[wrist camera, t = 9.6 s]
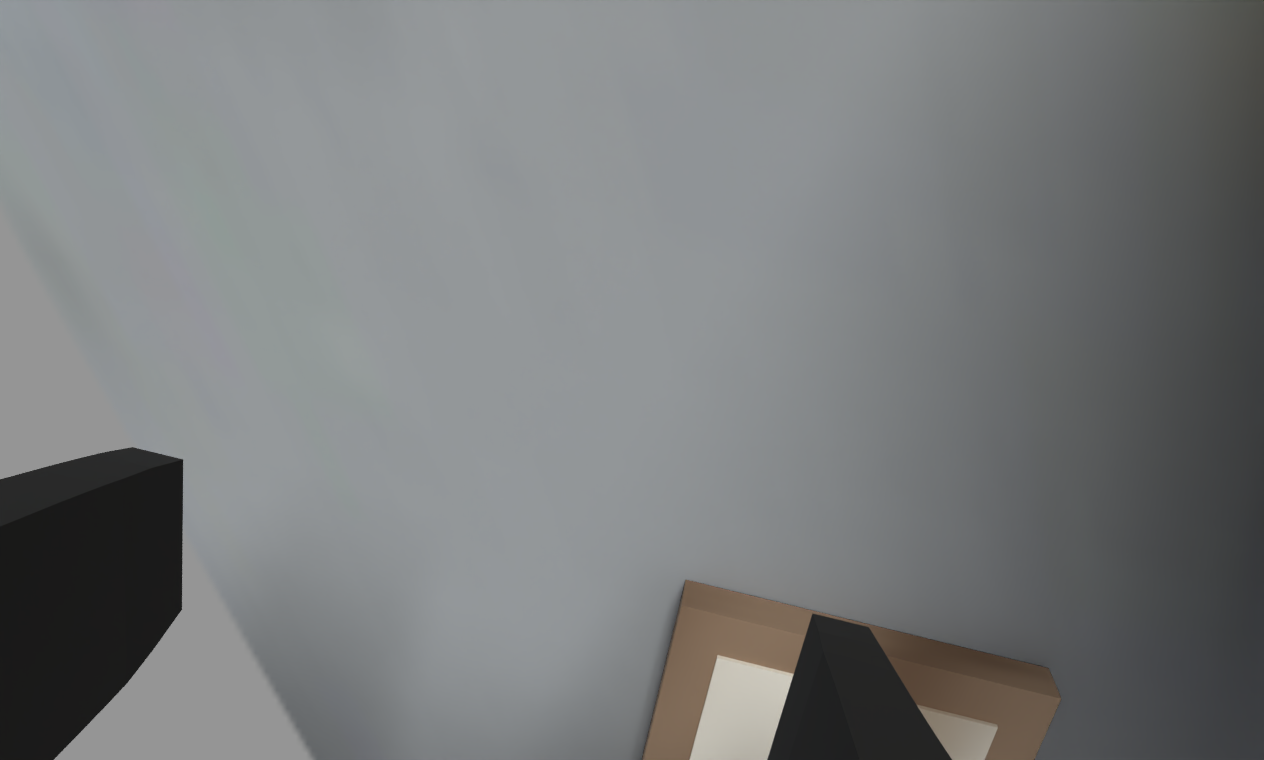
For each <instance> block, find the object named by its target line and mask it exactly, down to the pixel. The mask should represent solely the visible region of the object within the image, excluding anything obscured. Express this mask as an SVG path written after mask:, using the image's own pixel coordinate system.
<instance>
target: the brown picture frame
mask: <svg viewBox="0 0 1264 760" xmlns="http://www.w3.org/2000/svg"><path fill="white" fill-rule="evenodd" d="M812 613H813V614H817V615H821V616H825V617H830V618H834V619H838V620H842V621H846V622H850V623H854V624H858V625H862V626H866V627H869V628H870V630H871V631H872V633H873V635H874V636H875V638H876V639H877V641H878V643H879V644H880V646H881V648H882V649H883V651H884V652H885V654H886V656H887V657H888V659H889V661H890V662H891V664H892V666H893V667H894V669H895V670H896V672H897V674H898V675H899V677H900V679H901V680H902V682H903V684H904V685H905V687H906V688H907V690H908V692H909V693H910V695H911V697H912V698H913V700H914V701H915V703H916V705H917V706H918V708H919V709H920V711H921V713H922V714H923V716H924V717H925V719H926V721H927V722H928V724H929V725H930V727H931V728H932V730H933V732H934V733H935V735H936V736H937V738H938V739H939V741H940V742H941V744H942V745H943V747H944V748H945V750H946V751H947V753H948V754H949V756H950V757H951V759H952V760H1034V759H1035V757H1036V755H1037V752H1038V750H1039V748H1040V746H1041V743H1042V741H1043V739H1044V737H1045V734H1046V732H1047V730H1048V728H1049V726H1050V723H1051V721H1052V719H1053V717H1054V714H1055V712H1056V710H1057V708H1058V705H1059V703H1060V701H1061V697H1060V694H1059V692H1058V690H1057V687H1056V685H1055V682H1054V680H1053V678H1052V675H1051V673H1050V670H1049V668H1046V667H1041V666H1037V665H1033V664H1029V663H1025V662H1021V661H1017V660H1013V659H1009V658H1005V657H1000V656H996V655H992V654H988V653H984V652H980V651H976V650H972V649H968V648H964V647H959V646H955V645H951V644H947V643H943V642H939V641H935V640H931V639H927V638H923V637H918V636H914V635H910V634H906V633H902V632H898V631H894V630H890V629H886V628H882V627H877V626H873V625H869V624H865V623H861V622H857V621H853V620H849V619H845V618H841V617H836V616H832V615H828V614H824V613H820V612H816V611H812V610H808V609H804V608H800V607H795V606H791V605H787V604H783V603H779V602H775V601H771V600H767V599H763V598H759V597H754V596H750V595H746V594H742V593H738V592H734V591H730V590H726V589H722V588H718V587H713V586H709V585H705V584H701V583H697V582H693V581H689V580H686V581H685V585H684V589H683V593H682V597H681V601H680V605H679V610H678V614H677V618H676V622H675V626H674V630H673V634H672V638H671V642H670V646H669V650H668V654H667V659H666V663H665V667H664V671H663V675H662V679H661V683H660V687H659V691H658V695H657V699H656V703H655V708H654V712H653V716H652V720H651V724H650V728H649V732H648V736H647V740H646V744H645V748H644V752H643V757H642V760H767V759H768V756H769V752H770V749H771V746H772V743H773V739H774V736H775V733H776V730H777V727H778V723H779V720H780V717H781V714H782V710H783V707H784V704H785V701H786V697H787V694H788V691H789V688H790V684H791V681H792V678H793V675H794V672H795V668H796V665H797V662H798V659H799V655H800V652H801V649H802V646H803V642H804V639H805V636H806V633H807V629H808V626H809V623H810V620H811V617H812Z"/></svg>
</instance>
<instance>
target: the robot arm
mask: <svg viewBox="0 0 1264 760" xmlns="http://www.w3.org/2000/svg"><path fill="white" fill-rule="evenodd" d="M182 520H183V460H182V459H178V458H174V457H170V456H166V455H162V454H158V453H154V452H150V451H146V450H141V449H137V448H133V447H132V448H127V449H121V450H115V451H109V452H105V453H100V454H96V455H91V456H87V457H83V458H79V459H75V460H71V461H67V462H63V463H59V464H56V465H52V466H48V467H44V468H41V469H37V470H33V471H30V472H26V473H22V474H19V475H15V476H11V477H8V478H4V479H0V760H54V759H55V757H57V756H58V754H59V753H60V752H61V751H62V750H63V749H64V748H65V747H66V746H67V745H68V744H69V743H70V742H71V741H72V740H73V739H74V738H75V737H76V736H77V735H78V734H79V733H80V732H81V731H82V730H83V729H84V728H85V727H86V726H87V725H88V724H89V723H90V722H91V720H92V719H93V718H94V717H95V716H96V715H97V714H98V713H99V712H100V711H101V710H102V709H103V708H104V707H105V706H106V705H107V704H108V703H109V702H110V701H111V700H112V698H113V697H114V696H115V695H116V694H117V693H118V692H119V691H120V690H121V689H122V688H123V687H124V686H125V685H126V683H128V681H129V680H130V679H131V677H132V676H133V675H134V674H135V672H136V671H137V670H138V668H139V667H140V666H141V665H142V663H143V662H144V661H145V659H146V658H147V657H148V655H149V654H150V653H151V652H152V650H153V649H154V648H155V646H156V645H157V643H158V642H159V641H160V639H161V638H162V636H163V635H164V634H165V632H166V631H167V629H168V628H169V626H170V625H171V624H172V622H173V621H174V620H175V618H176V617H177V615H178V614H179V613H180V611H181V610H182ZM767 760H952V759H951V757H950V756H949V754H948V753H947V751H946V750H945V748H944V747H943V745H942V744H941V742H940V741H939V739H938V738H937V736H936V735H935V733H934V732H933V730H932V728H931V727H930V725H929V724H928V722H927V721H926V719H925V717H924V716H923V714H922V713H921V711H920V709H919V708H918V706H917V705H916V703H915V701H914V700H913V698H912V697H911V695H910V693H909V692H908V690H907V688H906V687H905V685H904V684H903V682H902V680H901V679H900V677H899V675H898V674H897V672H896V670H895V669H894V667H893V666H892V664H891V662H890V661H889V659H888V657H887V656H886V654H885V652H884V651H883V649H882V648H881V646H880V644H879V643H878V641H877V639H876V638H875V636H874V635H873V633H872V631H871V630H870V628H869V627H866V626H862V625H858V624H854V623H850V622H846V621H842V620H838V619H834V618H830V617H825V616H821V615H817V614H813V613H812V617H811V620H810V623H809V626H808V629H807V633H806V636H805V639H804V642H803V646H802V649H801V652H800V655H799V659H798V662H797V665H796V668H795V672H794V675H793V678H792V681H791V684H790V688H789V691H788V694H787V697H786V701H785V704H784V707H783V710H782V714H781V717H780V720H779V723H778V727H777V730H776V733H775V736H774V739H773V743H772V746H771V749H770V752H769V756H768V759H767Z"/></svg>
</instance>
